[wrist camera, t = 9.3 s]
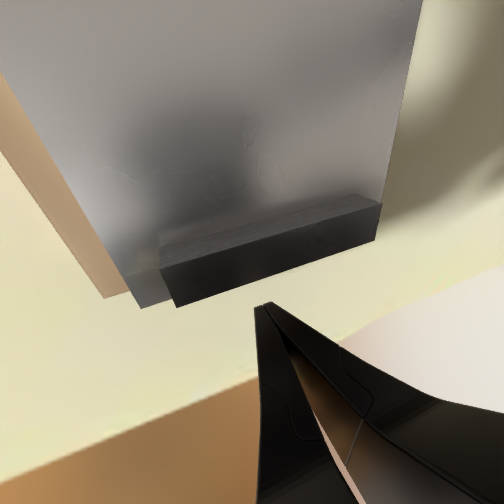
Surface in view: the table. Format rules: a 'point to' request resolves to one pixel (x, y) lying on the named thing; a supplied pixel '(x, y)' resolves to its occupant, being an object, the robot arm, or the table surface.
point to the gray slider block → (214, 127)
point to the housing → (54, 194)
